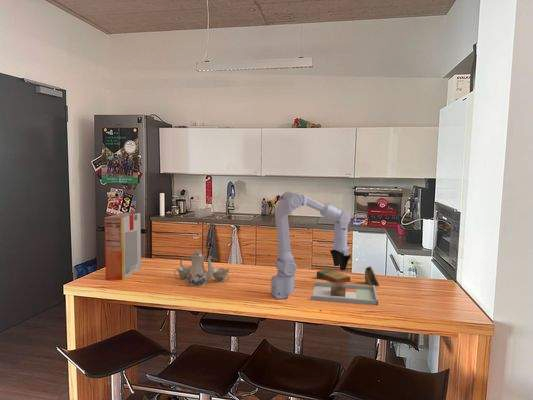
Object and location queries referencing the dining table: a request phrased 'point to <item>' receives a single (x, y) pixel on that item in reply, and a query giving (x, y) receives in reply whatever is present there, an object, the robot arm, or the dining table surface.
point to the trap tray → (346, 294)
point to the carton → (332, 276)
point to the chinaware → (200, 271)
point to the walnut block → (338, 289)
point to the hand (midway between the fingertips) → (339, 268)
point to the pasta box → (122, 245)
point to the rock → (371, 276)
